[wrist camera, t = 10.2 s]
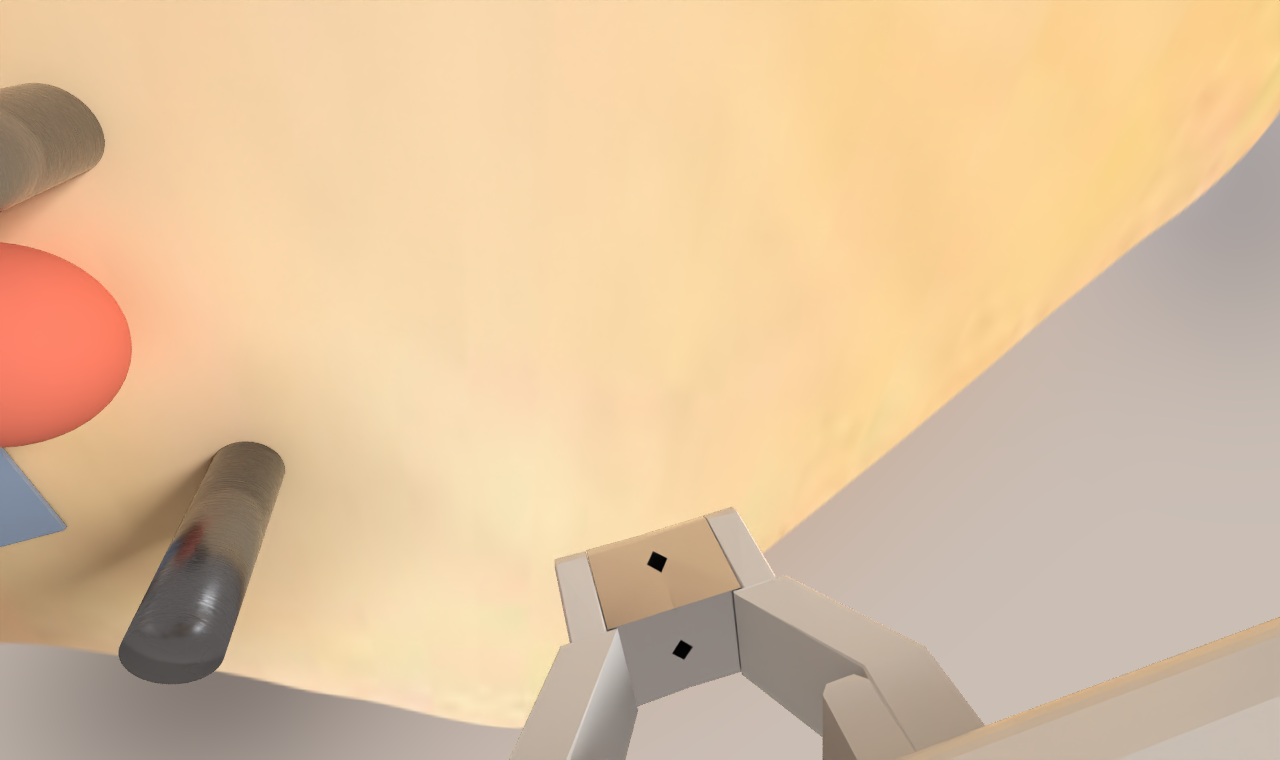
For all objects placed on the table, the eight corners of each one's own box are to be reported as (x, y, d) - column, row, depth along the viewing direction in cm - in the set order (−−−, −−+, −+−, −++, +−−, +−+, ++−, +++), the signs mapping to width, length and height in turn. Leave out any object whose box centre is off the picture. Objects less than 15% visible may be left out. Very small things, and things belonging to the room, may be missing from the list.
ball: (-154, 475, 19) (52, 503, 19) (-287, 276, 16) (-42, 308, 15) (33, 369, 24) (195, 391, 24) (-40, 204, 21) (146, 227, 21)
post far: (230, 502, 27) (148, 694, 20) (198, 452, 26) (98, 638, 18) (295, 484, 28) (240, 667, 20) (268, 434, 26) (198, 609, 19)
